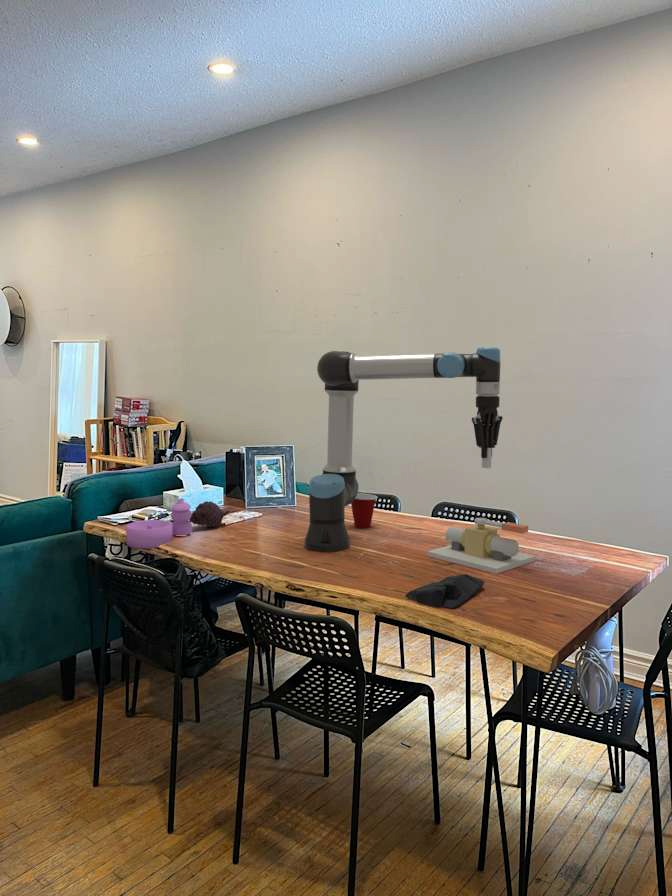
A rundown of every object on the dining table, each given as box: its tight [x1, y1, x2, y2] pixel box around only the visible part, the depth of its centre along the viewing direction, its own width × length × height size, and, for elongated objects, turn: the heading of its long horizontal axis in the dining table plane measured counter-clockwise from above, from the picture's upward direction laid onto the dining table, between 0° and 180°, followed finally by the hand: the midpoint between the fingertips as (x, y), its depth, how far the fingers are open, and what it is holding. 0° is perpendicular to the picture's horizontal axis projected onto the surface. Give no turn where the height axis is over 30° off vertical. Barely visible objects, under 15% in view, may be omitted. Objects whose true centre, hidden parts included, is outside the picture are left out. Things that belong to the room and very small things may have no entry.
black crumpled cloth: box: [405, 573, 485, 610], centre depth 183 cm, size 15×22×5 cm
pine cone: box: [188, 500, 230, 528], centre depth 260 cm, size 18×10×10 cm, turn 136°
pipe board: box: [427, 525, 536, 574], centre depth 216 cm, size 20×26×11 cm
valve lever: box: [474, 517, 529, 535], centre depth 210 cm, size 18×4×2 cm, turn 43°
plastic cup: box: [350, 492, 379, 529], centre depth 261 cm, size 11×11×12 cm
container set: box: [125, 498, 193, 549], centre depth 242 cm, size 25×15×13 cm, turn 141°
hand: (486, 467), depth 228 cm, fingers closed
